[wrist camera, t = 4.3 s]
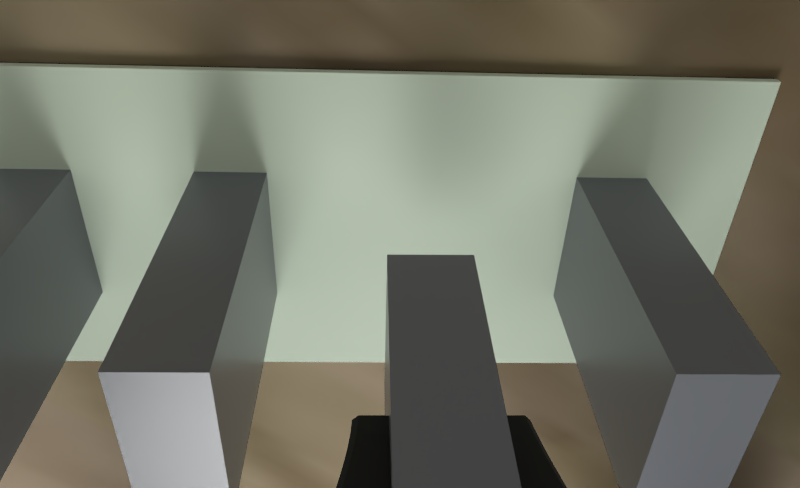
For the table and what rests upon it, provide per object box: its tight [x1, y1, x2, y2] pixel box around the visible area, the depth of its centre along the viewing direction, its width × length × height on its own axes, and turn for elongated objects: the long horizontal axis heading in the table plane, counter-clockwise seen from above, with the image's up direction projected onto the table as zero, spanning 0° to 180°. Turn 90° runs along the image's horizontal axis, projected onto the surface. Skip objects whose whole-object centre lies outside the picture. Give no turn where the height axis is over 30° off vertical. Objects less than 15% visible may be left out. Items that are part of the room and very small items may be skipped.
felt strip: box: [0, 63, 781, 363], centre depth 18 cm, size 9×26×1 cm, turn 88°
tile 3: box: [98, 172, 277, 488], centre depth 15 cm, size 2×4×7 cm, turn 178°
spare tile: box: [385, 255, 521, 488], centre depth 12 cm, size 2×4×7 cm, turn 179°
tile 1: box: [553, 177, 781, 488], centre depth 16 cm, size 2×4×7 cm, turn 178°
